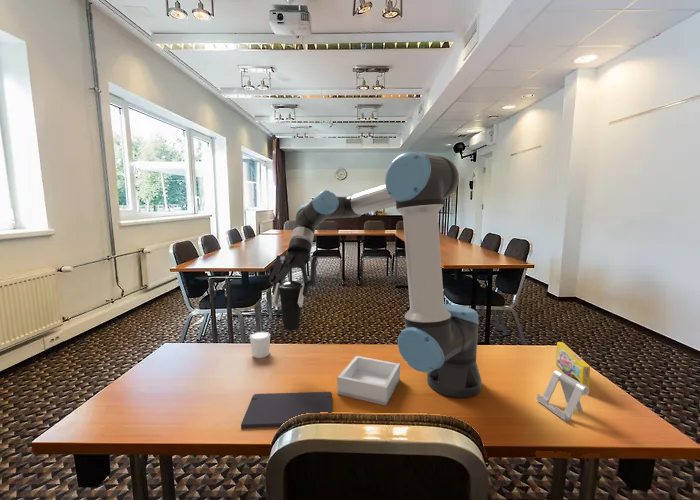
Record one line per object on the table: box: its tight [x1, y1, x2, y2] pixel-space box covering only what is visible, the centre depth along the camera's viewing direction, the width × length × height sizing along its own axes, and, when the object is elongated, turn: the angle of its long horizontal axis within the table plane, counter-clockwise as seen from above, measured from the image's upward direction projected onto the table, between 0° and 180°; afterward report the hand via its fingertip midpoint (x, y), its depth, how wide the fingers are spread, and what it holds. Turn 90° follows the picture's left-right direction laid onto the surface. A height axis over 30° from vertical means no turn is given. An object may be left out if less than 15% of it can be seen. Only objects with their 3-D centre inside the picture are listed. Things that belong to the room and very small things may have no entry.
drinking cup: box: [278, 264, 304, 331], centre depth 103 cm, size 8×8×20 cm
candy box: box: [555, 341, 591, 395], centre depth 100 cm, size 16×2×8 cm, turn 171°
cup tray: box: [336, 355, 401, 407], centre depth 96 cm, size 14×14×5 cm
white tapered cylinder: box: [249, 331, 271, 359], centre depth 116 cm, size 7×7×7 cm
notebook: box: [240, 391, 333, 430], centre depth 85 cm, size 13×2×21 cm
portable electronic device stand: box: [536, 369, 590, 423], centre depth 85 cm, size 9×8×8 cm
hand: (287, 304), depth 99 cm, fingers closed on drinking cup, 7 cm apart
